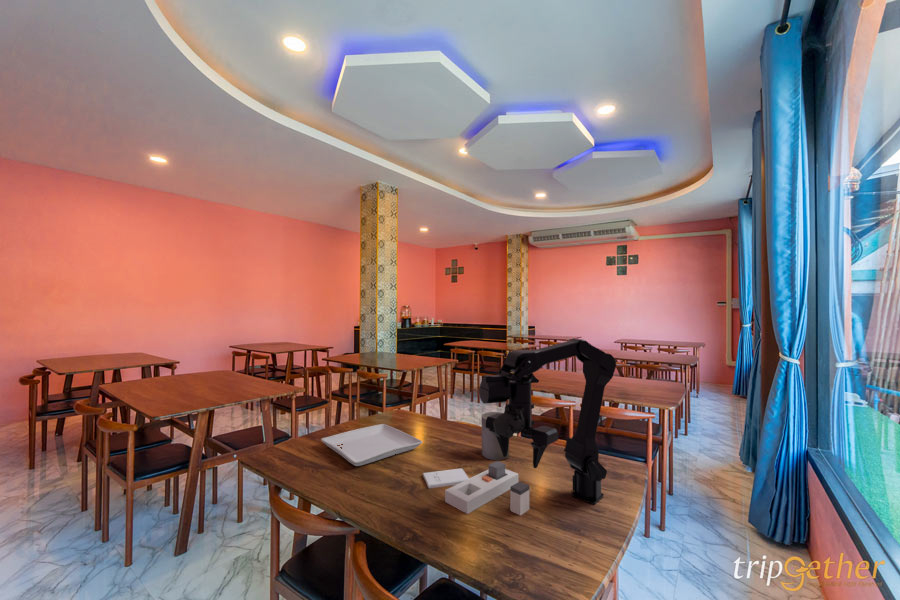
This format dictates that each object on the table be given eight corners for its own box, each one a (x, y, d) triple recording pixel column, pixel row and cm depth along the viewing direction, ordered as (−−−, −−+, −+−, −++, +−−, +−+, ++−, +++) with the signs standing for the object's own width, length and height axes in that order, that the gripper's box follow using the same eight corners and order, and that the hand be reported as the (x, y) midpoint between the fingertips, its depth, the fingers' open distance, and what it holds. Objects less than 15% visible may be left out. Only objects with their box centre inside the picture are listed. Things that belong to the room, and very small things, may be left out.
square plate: (319, 448, 132) (319, 437, 132) (383, 431, 150) (383, 422, 150) (354, 473, 112) (354, 460, 112) (423, 450, 130) (423, 439, 130)
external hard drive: (470, 485, 105) (428, 490, 102) (461, 472, 113) (422, 477, 110) (470, 479, 105) (428, 484, 102) (461, 467, 113) (422, 471, 110)
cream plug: (529, 509, 91) (529, 485, 92) (520, 515, 89) (520, 490, 89) (519, 504, 93) (519, 481, 94) (510, 510, 91) (510, 486, 91)
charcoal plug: (505, 484, 104) (505, 464, 104) (496, 489, 101) (496, 468, 101) (497, 481, 106) (497, 460, 106) (488, 486, 103) (488, 464, 104)
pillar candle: (510, 451, 129) (510, 409, 130) (508, 462, 120) (507, 416, 120) (483, 448, 131) (483, 407, 132) (479, 459, 122) (478, 414, 123)
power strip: (518, 484, 104) (518, 471, 105) (467, 514, 89) (467, 499, 89) (496, 475, 110) (496, 463, 110) (444, 501, 95) (445, 487, 95)
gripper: (471, 399, 93) (471, 459, 93) (533, 414, 80) (533, 485, 79) (498, 392, 101) (498, 448, 100) (559, 405, 87) (559, 470, 87)
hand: (519, 462), depth 92 cm, fingers open, 9 cm apart
